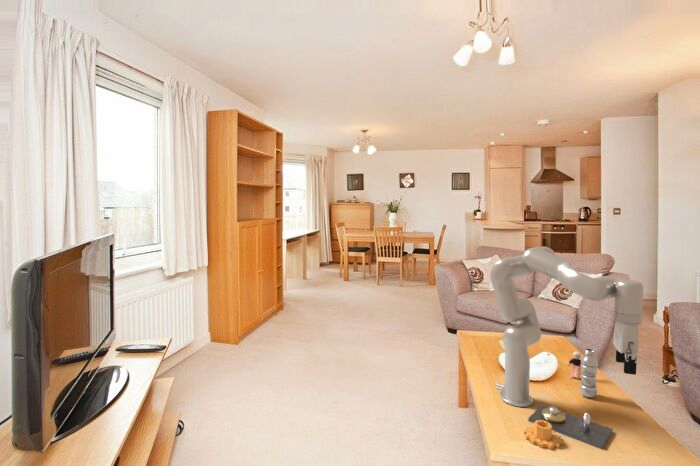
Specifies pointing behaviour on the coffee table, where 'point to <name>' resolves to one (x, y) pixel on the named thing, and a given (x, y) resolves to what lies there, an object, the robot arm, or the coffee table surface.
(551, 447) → the planet gear
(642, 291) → the robot arm
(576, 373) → the grandmother figurine
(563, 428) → the carrier plate
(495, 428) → the coffee table surface
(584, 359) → the plastic bottle
